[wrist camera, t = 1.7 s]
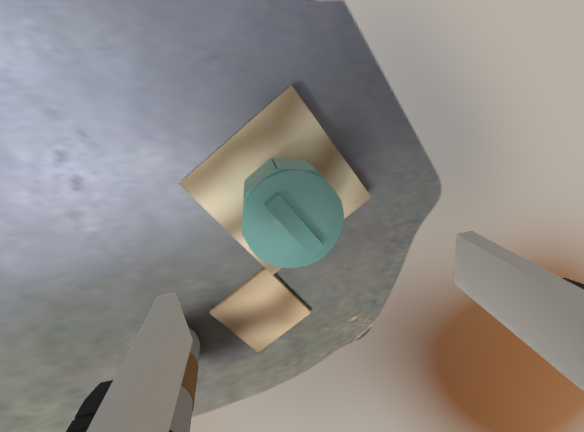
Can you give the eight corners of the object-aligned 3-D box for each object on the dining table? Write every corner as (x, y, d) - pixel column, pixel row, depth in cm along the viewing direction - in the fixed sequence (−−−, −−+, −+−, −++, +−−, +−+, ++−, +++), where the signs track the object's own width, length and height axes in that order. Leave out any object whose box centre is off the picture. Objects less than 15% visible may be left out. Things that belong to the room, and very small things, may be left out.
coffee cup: (183, 304, 34) (136, 439, 20) (221, 348, 37) (204, 492, 23) (124, 336, 34) (37, 491, 20) (167, 377, 37) (117, 536, 23)
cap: (226, 195, 25) (218, 223, 18) (290, 140, 24) (305, 150, 18) (279, 250, 27) (288, 291, 21) (338, 202, 26) (366, 230, 20)
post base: (183, 179, 29) (151, 210, 19) (288, 86, 27) (309, 72, 18) (271, 266, 33) (279, 324, 24) (364, 192, 32) (411, 224, 23)
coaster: (209, 310, 34) (209, 313, 34) (265, 266, 33) (265, 268, 33) (258, 348, 38) (258, 352, 37) (310, 309, 37) (311, 312, 36)
